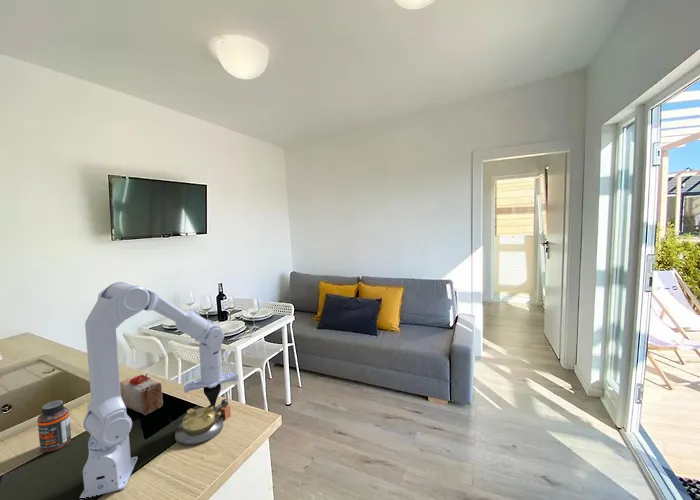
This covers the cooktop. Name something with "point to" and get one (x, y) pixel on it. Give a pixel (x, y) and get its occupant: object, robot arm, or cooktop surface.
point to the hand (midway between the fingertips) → (213, 408)
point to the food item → (141, 394)
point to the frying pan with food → (205, 436)
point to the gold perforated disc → (201, 418)
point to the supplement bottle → (54, 426)
